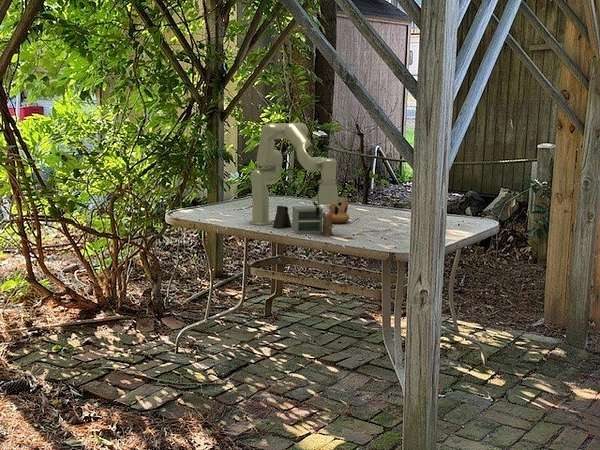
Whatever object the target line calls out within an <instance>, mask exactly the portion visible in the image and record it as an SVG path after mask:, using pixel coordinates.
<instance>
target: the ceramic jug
mask: <svg viewBox="0 0 600 450" xmlns="http://www.w3.org/2000/svg"><path fill="white" fill-rule="evenodd" d="M341 198H342V199H344V201H343V203H342V205H340V206H339V208H338V213H337V215H335V207H336V206H335V204H326V208H328V210H329V211H328V212H327V213H325V215H329V216H331V217H332V224H338V225H339V224H343V223H346V222H348V221H349V220H350V215H349V214H348V209H349V205H348V202H349V201H348V200H349V199H348V198H347V197H341ZM339 202H340V200H339V199H338V203H339ZM338 203H337V204H338Z"/></svg>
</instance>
